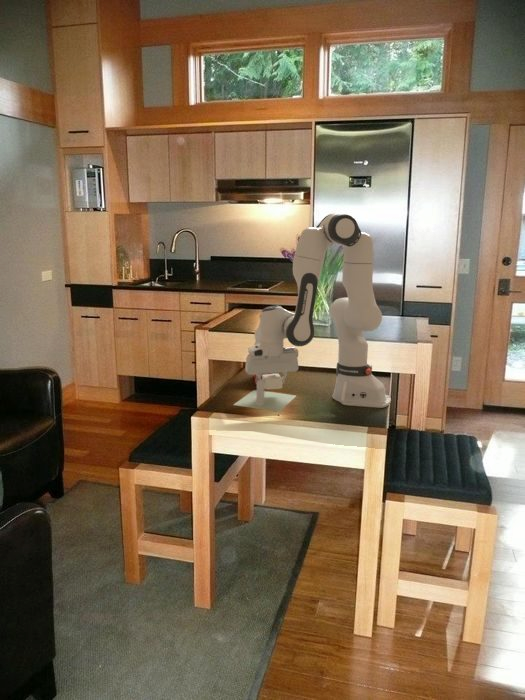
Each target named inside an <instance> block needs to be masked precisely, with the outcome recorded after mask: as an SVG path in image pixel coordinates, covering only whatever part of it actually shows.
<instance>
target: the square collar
mask: <svg viewBox="0 0 525 700" xmlns="http://www.w3.org/2000/svg"><path fill="white" fill-rule="evenodd" d="M262 379H264V381H265V386H264V390H266V391H267V390H278V389H283V383H282V376H281V375H280V373H275V374H267V375H262Z"/></svg>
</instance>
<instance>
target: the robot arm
mask: <svg viewBox="0 0 525 700" xmlns="http://www.w3.org/2000/svg"><path fill="white" fill-rule="evenodd" d="M297 241H298V242H297V244H296V247H295V251H294V256H293V262H292V275H293V277H294V279H295V282H296V285H297V292H298V293H297V300H296V306H295V312H292V311H290V310H287V309H285V308H283V307H282V306H281V305H278V304H277V305H270V306H269V305H268V306H267V307H264V308H263V309H262V310H261V312H260V314H261V316H260V315H259V324H260V332H261V339H260V343H259V344H257V345H255V346H254V345H253V346H252V345H251V346H249V348H248V349H247V351H248V354H247V356H246V359H245V366H244V367H245V373H246V374H247V375H249V376H252V375H253V376H254V375H255V374H257V376H258V378H259V379H260V380H263V381H264V379H261V376H262V374H268V373H275V374H280V373H282V376H281V377H282V384H285V379H286V377H287V376H288V373H289V372H290V373H291V372H297V371H298V370H299V359H298V357H299V350H298V348H297V347H304V346H306V345H308V344H310V343H311V342H312V341H313V340H314V339H313V338H314V336H315V327H314V323H313V322H314V321H313V319H314V318H313V316H314V311H315V310H314V309H315V303H316V297H317V290H318V286H319V281H320V278H321V274H322V270H323V267H324V264H325V263H324V261H325V259H326V258H325V256H326V252H327V250H328V248H329V247H330V246H331V245H332V244H335V245H339V244H340V246H341V247H342V249H343V257H342V259H343V260H342V261H343V262H342V263H343V264H342V279H341V281H342V286H343V288H344V289H345V291H346V296H347V297H339V298H337V299H335V300H334V301H333V302H332V303H331V305H330V309H329V312H330V316H331V319H333V322H334V325H335V329H336V334H337V339H338V359H337V363H336V370H335V371H336V372H335V374H336V381H335V385H334V391H333V393H332V395H331V397H332V399H334V400H335V401H337V402H339V403H340V404H341V405H344V406H351V407H353V406H354V407H364V408H365V407H366V408H379V409H381V408H386V407H388V406H389V405H390V404H391V401H392V398H391V397H390V395H389V394H386V388H385V385H384V383H383V382H382V381H381V380H379V379H378V378H377V377H376V376H375V375H373V365H370V364H368V353H369V352H368V351H369V350H368V348H369V346H368V345H369V344H368V342H367V340H366V338H365V336H364V332H374V331H375V330H377V329H378V328H379V327H380V325H381V323H382V321H383V313H382V311H381V309H380V307H379V306H378V304H377V301H376V298H375V293H374V287H373V276H374V275H373V274H374V244H373V238H372V236H371V235H370V234H369V233H367V232H363V231H361V228H360V227H359V224H358V222H357V220H356V218H355V217H354V216H353V215H352V214H349V213H347V212H339V211H338V212H333V213H330V214H328V215H325V217H324V218H322V220H320V221H319V223H318V224H317V226H316V227H315V226H314V227H313V226H311V227H306V228H305V229H303V230H302V232H301V233H300V236H299V239H298V240H297ZM285 339H287V340H288V342H289V343H290V344H291V345H292V346H295V347H292V346H291V347H284V340H285Z"/></svg>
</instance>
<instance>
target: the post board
mask: <svg viewBox="0 0 525 700" xmlns="http://www.w3.org/2000/svg"><path fill="white" fill-rule="evenodd" d="M264 386H265V381H263V380H258V381H257V385H256V389H254V390H253V389H252V391H250V392H249V393H248V394H246V395H244V396H243V397H242V398H240V399H239V400H238V401H236V402H235V403H234V404H233V406H237V407H242V408H243V407H244V408H245V407H246V408H252V409H257V410H265V411H270V412H276V413H280V412H281V411H282V410H283V409H284V408H285V407H286V406H288V404H290V403H291V402H292V401H293V400H294V399H295V398H296V397H297V395H293V394H288V393H281V392H279V393H278V392H273V391H267V390H266V391H265V388H264ZM277 415H278V416H280V414H277ZM278 416H277V417H278Z"/></svg>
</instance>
